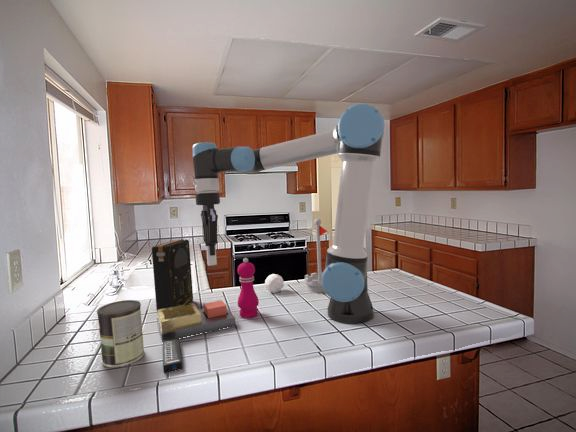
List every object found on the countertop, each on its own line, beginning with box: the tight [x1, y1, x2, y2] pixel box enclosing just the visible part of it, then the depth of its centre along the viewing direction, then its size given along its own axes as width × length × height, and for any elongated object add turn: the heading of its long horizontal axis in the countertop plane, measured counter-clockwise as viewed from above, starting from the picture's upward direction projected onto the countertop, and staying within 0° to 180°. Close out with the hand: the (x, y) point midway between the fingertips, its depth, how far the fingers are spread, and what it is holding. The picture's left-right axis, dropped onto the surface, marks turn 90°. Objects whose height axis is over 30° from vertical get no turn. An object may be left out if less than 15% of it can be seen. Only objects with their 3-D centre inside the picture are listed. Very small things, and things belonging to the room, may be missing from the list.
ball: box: [264, 273, 285, 294], centre depth 139 cm, size 8×8×8 cm
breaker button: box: [203, 299, 228, 318], centre depth 110 cm, size 6×6×3 cm
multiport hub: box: [162, 338, 184, 374], centre depth 88 cm, size 4×14×2 cm, turn 21°
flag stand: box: [304, 217, 328, 294], centre depth 140 cm, size 13×13×30 cm
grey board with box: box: [156, 302, 236, 343], centre depth 107 cm, size 14×22×6 cm, turn 117°
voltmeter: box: [151, 238, 194, 313], centre depth 125 cm, size 16×9×25 cm, turn 168°
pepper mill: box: [237, 257, 260, 319], centre depth 114 cm, size 7×7×20 cm
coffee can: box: [96, 299, 145, 368], centre depth 88 cm, size 10×10×14 cm
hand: (212, 264), depth 108 cm, fingers closed
